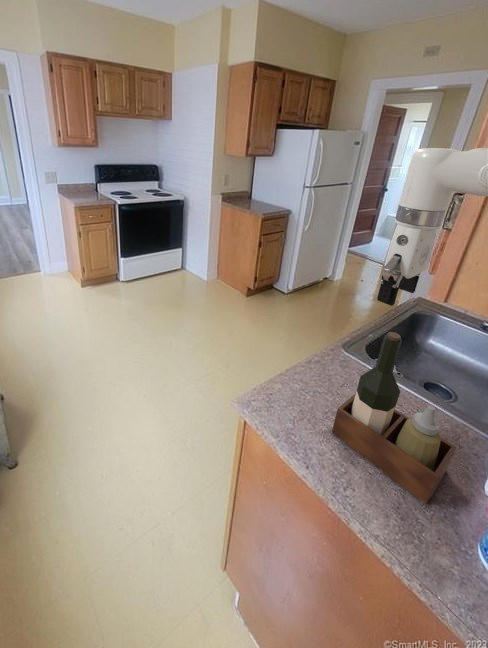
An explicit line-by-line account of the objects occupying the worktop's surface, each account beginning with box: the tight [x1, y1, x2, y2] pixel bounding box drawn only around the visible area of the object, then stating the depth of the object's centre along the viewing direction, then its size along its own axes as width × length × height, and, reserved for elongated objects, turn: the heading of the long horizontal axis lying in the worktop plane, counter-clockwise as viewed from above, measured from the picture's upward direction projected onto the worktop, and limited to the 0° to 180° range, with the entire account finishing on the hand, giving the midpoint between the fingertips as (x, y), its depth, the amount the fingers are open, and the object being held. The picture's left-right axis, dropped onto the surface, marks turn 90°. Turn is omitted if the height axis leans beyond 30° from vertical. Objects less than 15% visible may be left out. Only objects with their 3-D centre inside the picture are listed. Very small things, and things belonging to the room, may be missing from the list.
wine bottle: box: [350, 331, 403, 436], centre depth 74 cm, size 8×8×30 cm
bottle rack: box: [331, 392, 458, 504], centre depth 75 cm, size 21×11×8 cm, turn 38°
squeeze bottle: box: [394, 405, 442, 472], centre depth 69 cm, size 8×8×18 cm
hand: (396, 296), depth 68 cm, fingers open, 9 cm apart
